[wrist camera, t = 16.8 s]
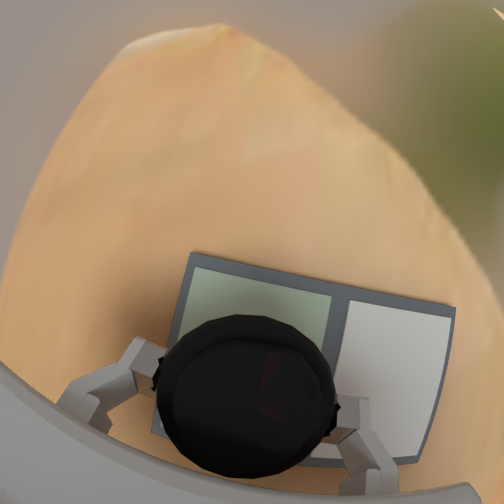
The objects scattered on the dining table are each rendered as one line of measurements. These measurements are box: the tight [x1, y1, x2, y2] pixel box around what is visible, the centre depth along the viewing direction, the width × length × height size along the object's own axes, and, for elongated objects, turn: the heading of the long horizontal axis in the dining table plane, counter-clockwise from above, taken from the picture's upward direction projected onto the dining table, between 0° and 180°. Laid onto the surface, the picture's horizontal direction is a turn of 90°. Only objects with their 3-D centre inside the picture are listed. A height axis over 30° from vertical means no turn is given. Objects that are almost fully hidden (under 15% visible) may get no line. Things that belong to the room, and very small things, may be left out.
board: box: [151, 252, 456, 468], centre depth 18 cm, size 14×22×1 cm, turn 77°
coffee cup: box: [156, 314, 336, 479], centre depth 13 cm, size 7×7×10 cm
